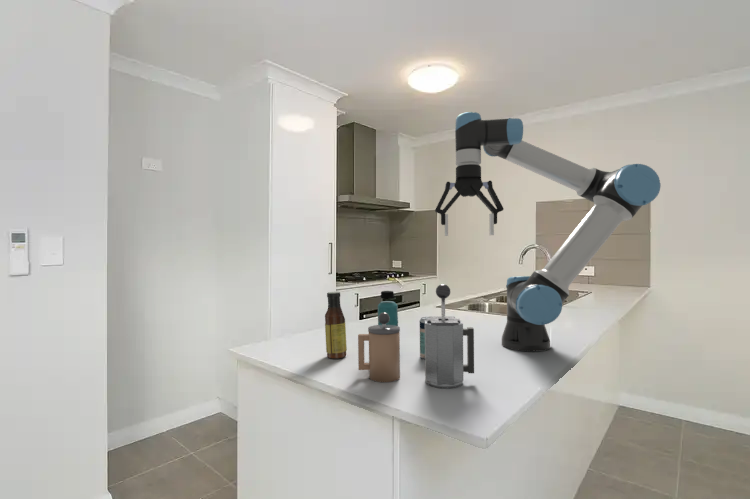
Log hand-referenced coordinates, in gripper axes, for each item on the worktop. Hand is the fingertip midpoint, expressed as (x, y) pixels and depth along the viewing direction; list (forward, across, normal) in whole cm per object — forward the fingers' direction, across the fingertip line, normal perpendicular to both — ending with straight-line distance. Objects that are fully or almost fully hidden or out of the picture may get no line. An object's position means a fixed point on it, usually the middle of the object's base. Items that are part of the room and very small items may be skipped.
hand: (468, 235), depth 123 cm
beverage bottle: (+37, +25, +1) cm, 45 cm away
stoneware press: (+37, +26, +21) cm, 50 cm away
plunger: (+32, +10, +24) cm, 41 cm away
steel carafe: (+37, +9, +24) cm, 45 cm away
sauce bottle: (+37, +41, +3) cm, 55 cm away
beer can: (+37, +13, +3) cm, 39 cm away
